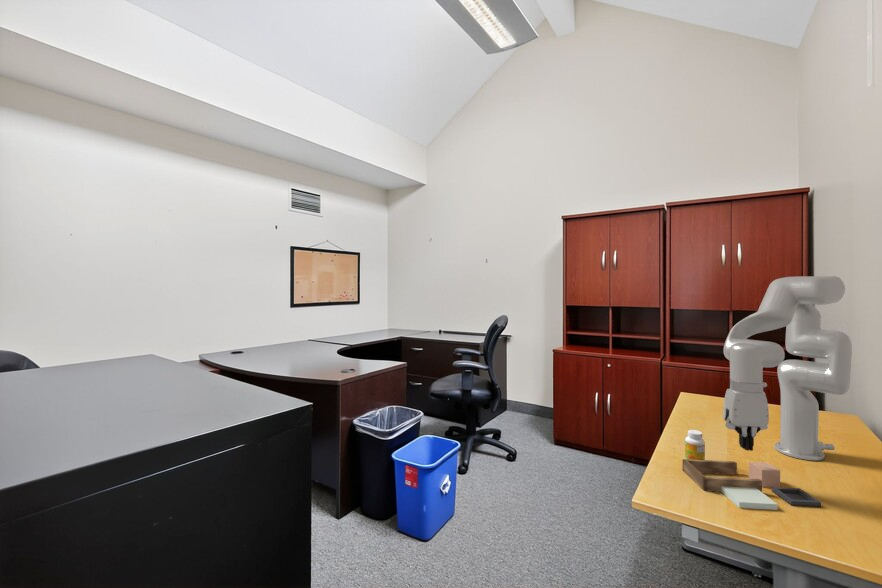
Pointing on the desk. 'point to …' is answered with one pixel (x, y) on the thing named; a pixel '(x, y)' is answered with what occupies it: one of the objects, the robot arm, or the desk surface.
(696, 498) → the desk surface
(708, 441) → the desk surface
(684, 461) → the wooden tray frame
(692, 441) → the supplement bottle
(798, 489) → the dark gray rectangular tray
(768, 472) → the terracotta cube
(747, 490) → the sage tile
